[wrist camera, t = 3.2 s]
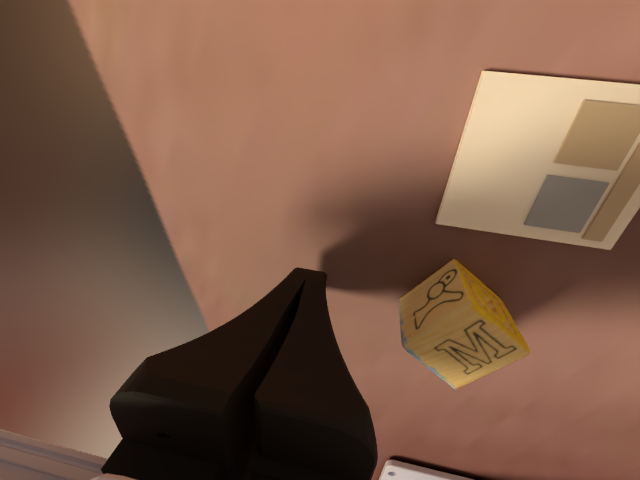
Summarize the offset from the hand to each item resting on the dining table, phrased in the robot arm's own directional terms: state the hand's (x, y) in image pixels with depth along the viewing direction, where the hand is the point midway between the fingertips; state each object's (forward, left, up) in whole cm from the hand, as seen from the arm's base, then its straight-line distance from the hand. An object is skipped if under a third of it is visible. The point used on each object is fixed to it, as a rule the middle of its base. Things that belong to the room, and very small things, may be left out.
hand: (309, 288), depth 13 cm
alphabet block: (0, -6, -1) cm, 6 cm away
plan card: (+6, -8, -1) cm, 10 cm away
